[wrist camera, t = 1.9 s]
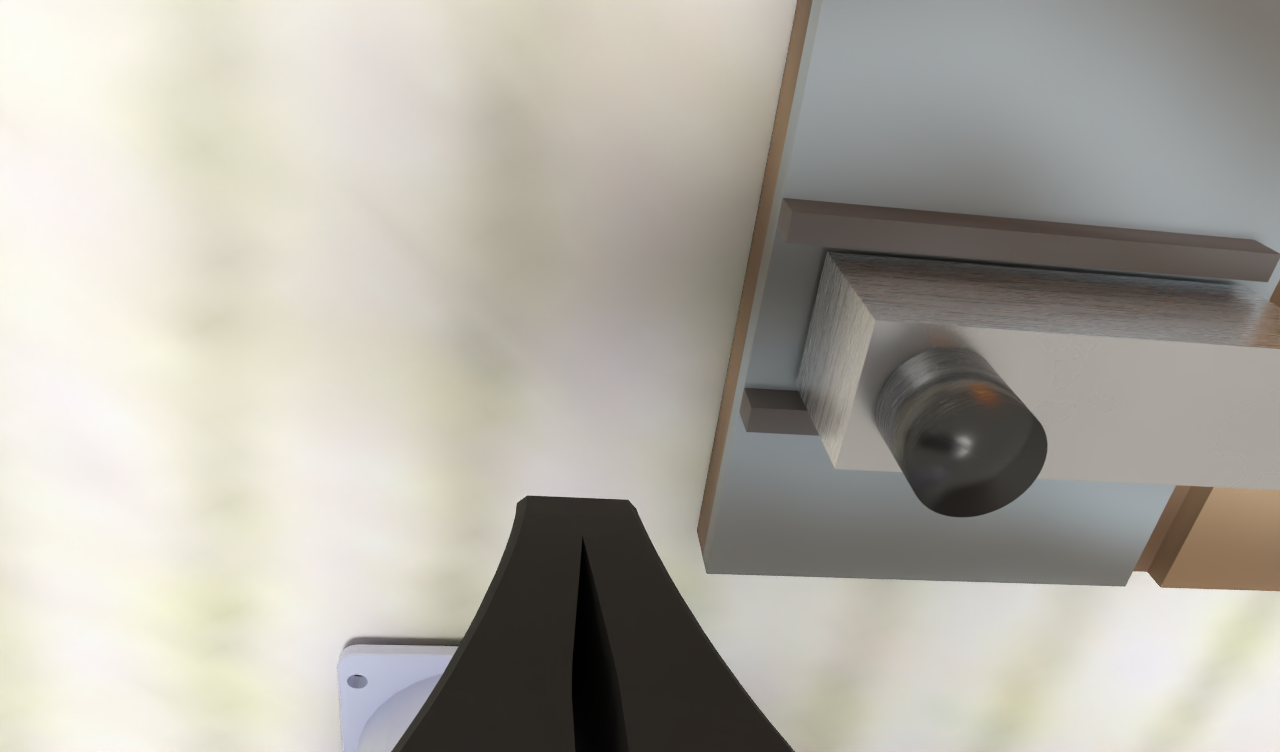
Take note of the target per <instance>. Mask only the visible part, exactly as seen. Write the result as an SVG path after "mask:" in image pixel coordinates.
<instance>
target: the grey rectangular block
mask: <svg viewBox="0 0 1280 752" xmlns="http://www.w3.org/2000/svg"><path fill="white" fill-rule="evenodd" d="M796 387H797V389H798V391H799V394H800V396H801V398H802V400H803V402H804V404H805V406H806V408H807V411H808V413H809V415H810V417H811V419H812V421H813V423H814V425H815V428H816V430H817V432H818V434H819V436H820V438H821V440H822V442H823V445H824V447H825V449H826V451H827V453H828V455H829V457H830V459H831V462H832V464H833V466H834V468H835V469H844V470H866V471H887V472H903V474H904V476H905V478H906V479H907V481H908V483H909V484H910V486H911V488H912V490H913V491H914V493H915V495H916V496H917V498H918V499H919V500H920V501H921V503H922V504H923V505H925V506H926V507H927V508H929V509H930V510H932V511H934V512H936V513H939V514H941V515H945V516H950V517H975V516H980V515H984V514H987V513H990V512H993V511H996V510H998V509H1000V508H1002V507H1004V506H1006V505H1008V504H1010V503H1011V502H1013V501H1014V500H1016V499H1017V498H1018V497H1019V496H1021V495H1022V494H1023V493H1024V492H1025V491H1026V490H1027V489H1028V488H1029V487H1030V486H1031V485H1032V484H1033V482H1034V481H1035V480H1036V479H1055V480H1076V481H1098V482H1119V483H1140V484H1161V485H1182V486H1203V487H1224V488H1245V489H1266V490H1280V307H1278V306H1277V305H1275V304H1273V303H1272V302H1270V301H1268V300H1267V299H1265V298H1264V297H1262V296H1260V295H1259V294H1257V293H1255V292H1254V291H1252V290H1250V289H1249V288H1247V287H1246V286H1240V285H1227V284H1215V283H1203V282H1190V281H1178V280H1166V279H1153V278H1141V277H1129V276H1116V275H1104V274H1092V273H1079V272H1067V271H1055V270H1042V269H1030V268H1018V267H1006V266H993V265H981V264H969V263H956V262H944V261H932V260H919V259H907V258H895V257H882V256H870V255H858V254H845V253H833V252H827V254H826V258H825V262H824V267H823V271H822V275H821V280H820V284H819V288H818V292H817V297H816V301H815V305H814V309H813V314H812V318H811V322H810V327H809V331H808V335H807V339H806V344H805V348H804V352H803V356H802V361H801V365H800V369H799V373H798V378H797V382H796Z"/></svg>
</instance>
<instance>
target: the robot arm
mask: <svg viewBox="0 0 1280 752" xmlns="http://www.w3.org/2000/svg"><path fill="white" fill-rule="evenodd" d="M337 670H338V686H339V701H340V717H341V733H342V749H343V752H795V751H794V750H793V749H792V748H791V746H790V745H789V744H788V743H787V742H786V741H785V739H784V738H783V737H782V736H781V735H780V733H779V732H778V731H777V730H776V729H775V728H774V726H773V725H772V724H771V723H770V722H769V720H768V719H767V718H766V717H765V715H764V714H763V713H762V712H761V710H760V709H759V708H758V706H757V705H756V704H755V703H754V701H753V700H752V699H751V697H750V696H749V695H748V693H747V692H746V691H745V689H744V688H743V687H742V685H741V684H740V683H739V681H738V680H737V679H736V677H735V676H734V674H733V673H732V672H731V670H730V669H729V667H728V666H727V665H726V663H725V662H724V660H723V659H722V658H721V656H720V655H719V653H718V652H717V650H716V649H715V648H714V646H713V645H712V643H711V642H710V640H709V639H708V637H707V636H706V634H705V633H704V631H703V629H702V628H701V626H700V625H699V623H698V622H697V620H696V618H695V617H694V615H693V614H692V612H691V610H690V609H689V607H688V606H687V604H686V602H685V601H684V599H683V598H682V596H681V594H680V593H679V591H678V589H677V588H676V586H675V584H674V583H673V581H672V579H671V577H670V576H669V574H668V572H667V570H666V568H665V567H664V565H663V563H662V561H661V559H660V557H659V556H658V554H657V552H656V550H655V548H654V546H653V544H652V542H651V540H650V538H649V536H648V534H647V532H646V530H645V528H644V526H643V524H642V522H641V519H640V517H639V515H638V512H637V510H636V508H635V507H634V506H633V505H632V504H631V503H630V501H629V500H619V499H595V498H571V497H547V496H526V497H525V498H523V499H522V500H521V501H519V502H518V503H517V507H516V515H515V519H514V523H513V527H512V531H511V534H510V537H509V540H508V543H507V546H506V549H505V551H504V554H503V556H502V559H501V561H500V564H499V566H498V569H497V571H496V574H495V576H494V578H493V580H492V582H491V584H490V586H489V588H488V590H487V592H486V595H485V597H484V599H483V601H482V603H481V605H480V607H479V609H478V611H477V614H476V616H475V617H474V619H473V621H472V623H471V625H470V627H469V629H468V631H467V632H466V634H465V636H464V638H463V639H462V641H461V643H460V645H459V646H417V645H363V644H358V645H351V646H349V647H346V648H345V649H344V650H343V651H342V652H341V654H340V657H339V661H338V666H337ZM354 675H362V676H364V677H358V676H354Z"/></svg>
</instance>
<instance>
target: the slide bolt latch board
mask: <svg viewBox="0 0 1280 752" xmlns="http://www.w3.org/2000/svg"><path fill="white" fill-rule="evenodd" d="M827 252H833V253H845V254H858V255H870V256H882V257H895V258H907V259H919V260H932V261H944V262H956V263H969V264H981V265H993V266H1006V267H1018V268H1030V269H1042V270H1055V271H1067V272H1079V273H1092V274H1104V275H1116V276H1129V277H1141V278H1153V279H1166V280H1178V281H1190V282H1203V283H1215V284H1227V285H1240V286H1246V287H1247V288H1249V289H1250V290H1252V291H1254V292H1255V293H1257V294H1259V295H1260V296H1262V297H1264V298H1265V299H1267V300H1268V301H1270V302H1272V303H1273V304H1275V305H1277V306H1278V307H1280V0H798V2H797V7H796V12H795V18H794V23H793V28H792V33H791V39H790V44H789V49H788V54H787V60H786V65H785V70H784V75H783V81H782V86H781V91H780V97H779V102H778V107H777V112H776V118H775V123H774V128H773V133H772V139H771V144H770V149H769V154H768V160H767V165H766V170H765V176H764V181H763V186H762V191H761V197H760V202H759V207H758V212H757V218H756V223H755V228H754V234H753V239H752V244H751V249H750V255H749V260H748V265H747V270H746V276H745V281H744V286H743V291H742V297H741V302H740V307H739V313H738V318H737V323H736V328H735V334H734V339H733V344H732V349H731V355H730V360H729V365H728V370H727V376H726V381H725V386H724V392H723V397H722V402H721V407H720V413H719V418H718V423H717V428H716V434H715V439H714V444H713V449H712V455H711V460H710V465H709V471H708V476H707V481H706V486H705V492H704V497H703V502H702V507H701V513H700V518H699V523H698V528H697V533H698V537H699V542H700V546H701V551H702V555H703V560H704V564H705V569H706V573H707V574H737V575H770V576H803V577H836V578H868V579H901V580H934V581H967V582H999V583H1032V584H1065V585H1098V586H1126V584H1127V582H1128V580H1129V578H1130V576H1131V574H1132V572H1133V571H1145V572H1148V573H1149V574H1150V575H1151V577H1152V578H1153V579H1154V580H1155V581H1156V583H1157V584H1158V585H1159V586H1160V587H1163V588H1196V589H1229V590H1262V591H1280V490H1266V489H1245V488H1224V487H1203V486H1182V485H1161V484H1140V483H1119V482H1098V481H1076V480H1055V479H1036V480H1035V481H1034V482H1033V484H1032V485H1031V486H1030V487H1029V488H1028V489H1027V490H1026V491H1025V492H1024V493H1023V494H1022V495H1021V496H1019V497H1018V498H1017V499H1016V500H1014V501H1013V502H1011V503H1010V504H1008V505H1006V506H1004V507H1002V508H1000V509H998V510H996V511H993V512H990V513H987V514H984V515H980V516H975V517H950V516H945V515H941V514H939V513H936V512H934V511H932V510H930V509H929V508H927V507H926V506H925V505H923V504H922V503H921V501H920V500H919V499H918V498H917V496H916V495H915V493H914V491H913V490H912V488H911V486H910V484H909V483H908V481H907V479H906V478H905V476H904V474H903V472H887V471H866V470H844V469H835V468H834V466H833V464H832V462H831V459H830V457H829V455H828V453H827V451H826V449H825V447H824V445H823V442H822V440H821V438H820V436H819V434H818V432H817V430H816V428H815V425H814V423H813V421H812V419H811V417H810V415H809V413H808V411H807V408H806V406H805V404H804V402H803V400H802V398H801V396H800V394H799V391H798V389H797V387H796V382H797V378H798V373H799V369H800V365H801V361H802V356H803V352H804V348H805V344H806V339H807V335H808V331H809V327H810V322H811V318H812V314H813V309H814V305H815V301H816V297H817V292H818V288H819V284H820V280H821V275H822V271H823V267H824V262H825V258H826V254H827Z"/></svg>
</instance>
